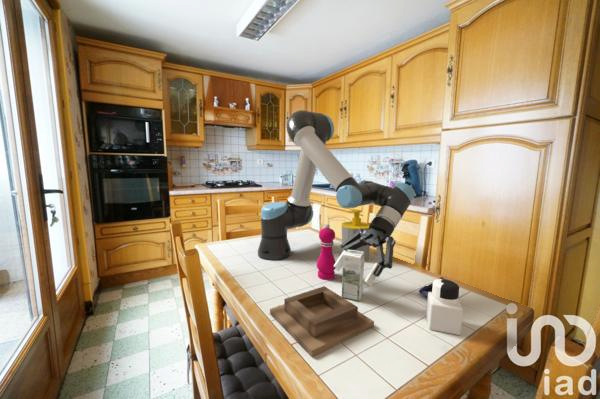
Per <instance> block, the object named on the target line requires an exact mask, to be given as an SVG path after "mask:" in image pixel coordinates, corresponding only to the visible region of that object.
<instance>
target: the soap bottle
mask: <svg viewBox="0 0 600 399" xmlns="http://www.w3.org/2000/svg"><path fill="white" fill-rule="evenodd" d="M349 213H354V214H353V217H352V219H351V220H352V221H345V222H342V223H341V244H342V243H343V242H345V241H346V240H347V239H349V238H350V237H351V236H353V235H354V234H355V233H357V231H358V230H359V229H360V228H362V229H363V230H365V231H367V230H368V229H369V225H370V223H367V222H363V221H362V218H361V217H360V214H361V213H362V210H360V209H352V210H349V211H348V214H349ZM364 241H365V239H364ZM370 247H371V246H368V245H366V246H362V247H360V248H358V249H356V251H363V252H364V260H365V261H367V260H368V259H369V255H370ZM342 250H343V249H342V248H341V251H342Z"/></svg>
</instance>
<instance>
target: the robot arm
mask: <svg viewBox="0 0 600 399" xmlns="http://www.w3.org/2000/svg"><path fill="white" fill-rule="evenodd" d="M286 132H287V135H288V137H289V139H290V140H291V142H293V144H294V145H295V146H296V147H300V148H301V149H300V152H299V157H298V162H297V168H296V172H295V176H294V181H293V186H292V190H291V195H289V196H288V197H287V198H286V202H283V201H276V202H270V203H266V204H264V205H263V206H262V208H261V209H260V219H261V220H260V225H261V226H260V227H261V229H260V230H261V239H260V242H259V245H258V249H257V256H258V257H259V258H260V259H263V260H267V261H269V260H270V261H275V260H278V261H279V260H283V259H284V260H285V259H287V258H289V257H290V256H291V255H292V249H291V246H290V242H289V239H288V230H291V229H295V228H301V227H304V226H306V225H309V223H311V221H312V220H313V218H314V217H313V216H314V210H313V209H314V208H313V207H312V202H311V200H310V196H311V191H312V187H313V183H314V179H315V176H316V171H317V169H318V171H319V173H321V175H322V176H323V178H325V179H326V180H327V182H328V184H330V185H331V187H332V188H333V190H335V192H336V194H335V195H336V196H335V197H336V198H335V199H336V202H337V204H338V205H339V206H340V207H342V208H344V209H355V208H357V207H361V206H367V205H370V204H373V205H377V206H378V207H380V208H379V210H378V211H377V213H376V214H375V217H374V218H372V220H371V221H370V223H369V224H370V225H369V229H368V230H367V231H365V230H363V229H362V228H360V229H359V230H358V231H357V233H355V234H354V235H353V236H351V237H350V238H349V239H347V240H346V241H345V242H343V243H342V242H341V244H340V245H339V246H340V248H341V252H340V254H338V257H337V259H336V260H335V261H336V263H335V264H334V267H335V268H336V269H335V270H337V271H341V269H342V268H343V254H344V252H345V251H346V250H347V249H349V250H356V249H358V248H360V247H362V246H366V245H368V246H370V247H372V248H375V249H376V256H377V262H375V263H374V264H373V266H372V268H371V269H370V271H369V272H368V274H367V276H366V277H365V279H364V283H365V284H366V285H367V286H369V287H370V288H371V286H372V285H373V284H374V281H375V280H376V278H379V277H380V275H381V274H382V272H383V270H384V269H390V270H391V269H392V268H393V262H394V261H393V260H394V259H393V258H394V247H395V245H396V243H397V242H396V240H395V238H394V237H393V236H392V234H393V233H394V231H395V228H397V226H398V224H399V223H400V222H401V219H402V218H403V216H404V214H405V212H406V211H407V210H408V209H409V206H410V205H411V204H412V202H413V200H414V198H415V195H416V192H415V190H414V188H413V187H412V186H410V185H409V184H408V183H405V182H397V183H396V184H395V185H394V186H393V187H392V186H386V185H383V184H380V183H376V182H375V181H371V180H366V179H364V180H361V181H360V182H359V183H358V181H357V180H356V179H355V178H354V177H353V176H352V175H351V173H349V171H348V170H347V169H346V168H345V167H344V166H343V164H342V163H341V162H340V160H338V158H337V157H336V156H335V154H333V152H332V151H330V149H329V148H328V147H327V146H326V145H327V144H326V143H327V142H328V141H330V140H331V139H332V138H333V136H334V133H335V124H334V121H333V120H332V118H331V117H330V116H329V115H327V114H324V113H321V112H315V111H314V112H313V111H308V110H304V109H303V110H302V109H301V110H296V111H294V112H293V113H291V115H290V116H289V117H288V119H287V121H286ZM364 239H365V241H364ZM384 244H385V252H384ZM342 249H343V250H342ZM384 253H385V254H384Z"/></svg>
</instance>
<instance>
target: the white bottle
mask: <svg viewBox="0 0 600 399" xmlns="http://www.w3.org/2000/svg"><path fill="white" fill-rule="evenodd" d="M432 283H433V287H432V292H428V297H426V298H427V300H426V301H427V302H426V312H425V313H426V321H427V325H428V329H429V330H431V331H435V332H441V333H447V334H451V335H457V336H460V335H461V333H462V323H463V321H462V320H463V312H464V309H463V306H462V304H461V302H460V300H459V296H460V286H459V284H458V283H457V282H455V281H452V280H450V279H446V278H444V279H439V278H437V279H434V280H433V281H432Z"/></svg>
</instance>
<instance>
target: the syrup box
mask: <svg viewBox="0 0 600 399" xmlns="http://www.w3.org/2000/svg"><path fill="white" fill-rule="evenodd" d="M364 267H365V261H364V252H363V251H356V250H349V249H347V250H346V251H345V252H344V254H343V266H342V267H341V269H342V270H341V271H342V274H341V275H342V276H341V277H342V278H341V280H342V281H341V297H343V298H344V299H346V300H347V299H348V300H352V301H355V302H359V301H360V300H361V298H362V296H363V293H364V270H365V268H364Z"/></svg>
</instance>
